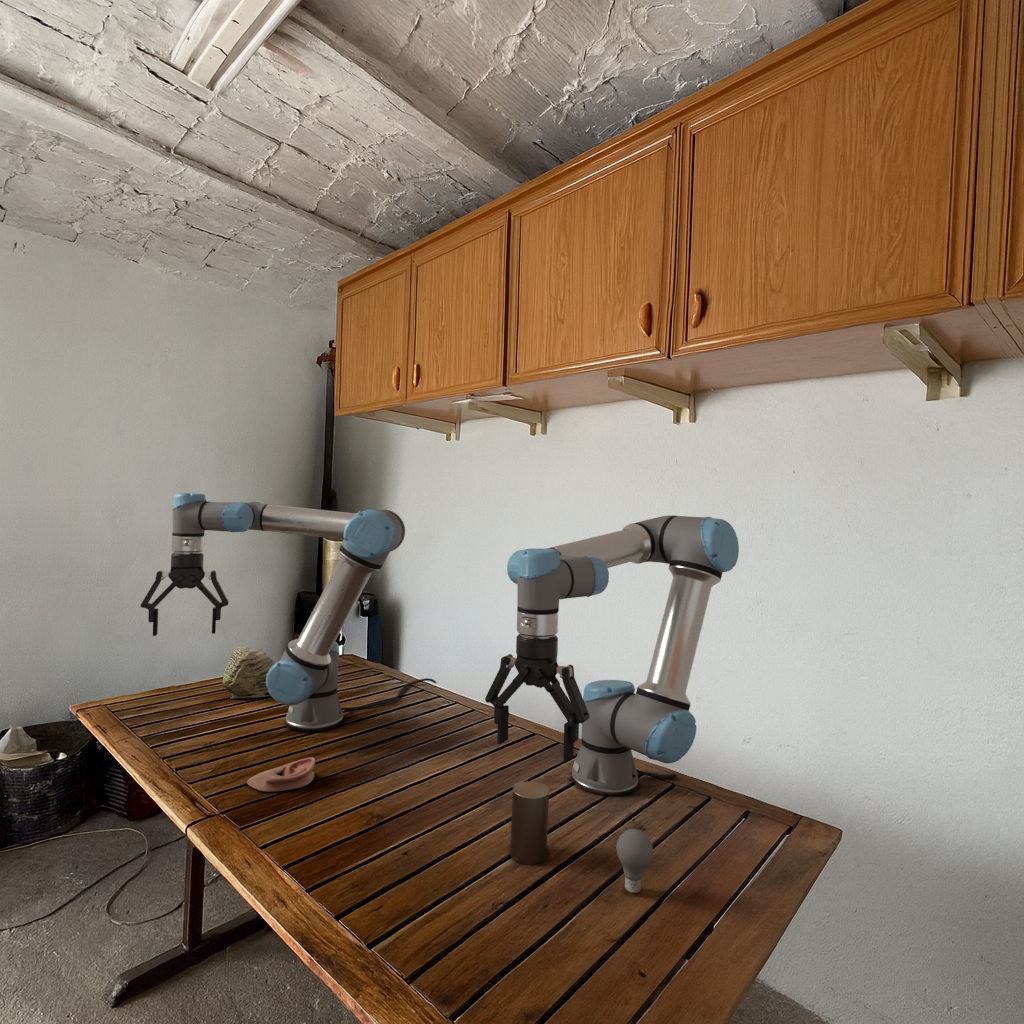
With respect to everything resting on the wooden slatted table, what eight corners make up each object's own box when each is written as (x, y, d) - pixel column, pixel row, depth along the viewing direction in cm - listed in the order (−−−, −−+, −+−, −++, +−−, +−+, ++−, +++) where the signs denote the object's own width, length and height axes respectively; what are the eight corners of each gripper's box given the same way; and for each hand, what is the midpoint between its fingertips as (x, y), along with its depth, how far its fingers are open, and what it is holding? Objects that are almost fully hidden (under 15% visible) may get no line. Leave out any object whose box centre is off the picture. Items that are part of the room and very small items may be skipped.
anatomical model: (238, 769, 136) (269, 749, 147) (238, 787, 136) (269, 766, 147) (295, 777, 133) (322, 756, 144) (294, 796, 133) (321, 773, 144)
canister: (553, 859, 114) (556, 794, 114) (520, 868, 111) (523, 800, 111) (535, 841, 120) (538, 778, 120) (503, 848, 117) (506, 784, 117)
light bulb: (610, 879, 108) (613, 822, 108) (644, 879, 109) (647, 822, 109) (619, 902, 102) (622, 840, 102) (655, 901, 103) (658, 840, 103)
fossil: (218, 695, 195) (220, 647, 195) (278, 685, 208) (279, 640, 207) (228, 703, 189) (230, 653, 188) (289, 692, 201) (290, 645, 201)
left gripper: (129, 553, 156) (126, 638, 157) (239, 554, 166) (236, 634, 166) (134, 550, 163) (132, 632, 163) (240, 551, 173) (237, 628, 173)
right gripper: (468, 629, 118) (466, 741, 118) (593, 648, 105) (589, 774, 106) (490, 622, 124) (487, 729, 125) (609, 639, 112) (606, 758, 112)
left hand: (184, 633), depth 165 cm, fingers open, 13 cm apart
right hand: (534, 750), depth 115 cm, fingers open, 13 cm apart
